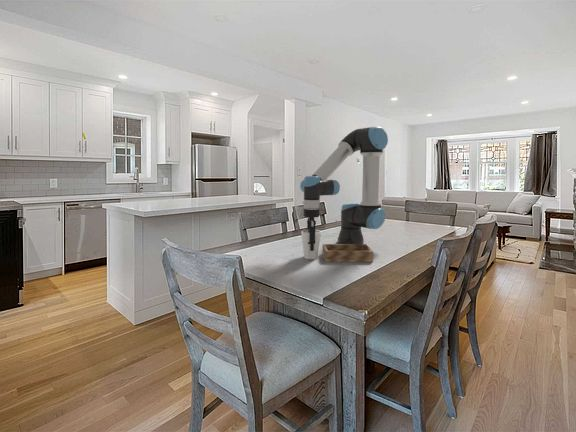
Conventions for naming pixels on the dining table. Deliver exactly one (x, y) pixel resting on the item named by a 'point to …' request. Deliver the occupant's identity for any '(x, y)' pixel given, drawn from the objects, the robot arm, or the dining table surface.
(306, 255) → the foam cup
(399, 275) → the dining table surface
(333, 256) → the walnut box
